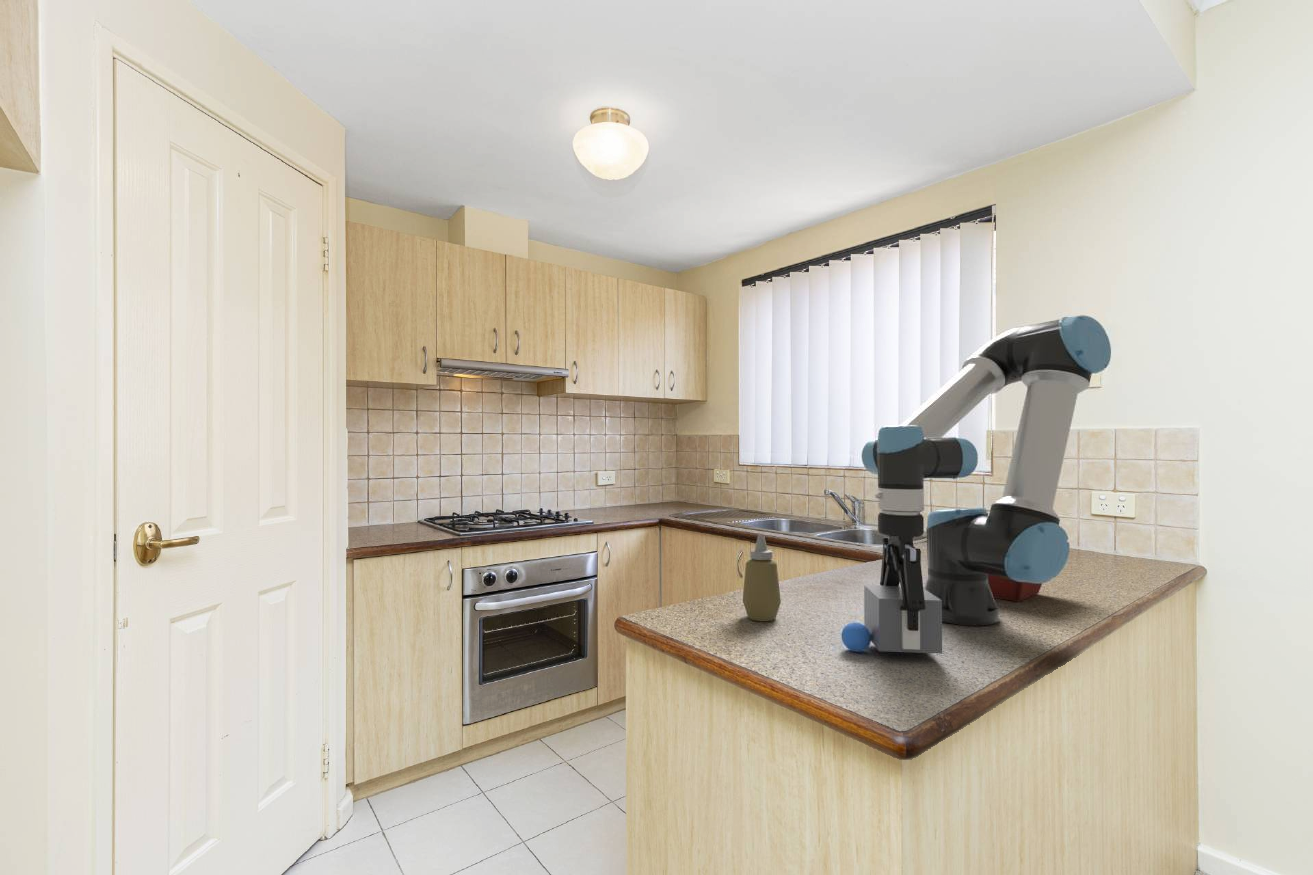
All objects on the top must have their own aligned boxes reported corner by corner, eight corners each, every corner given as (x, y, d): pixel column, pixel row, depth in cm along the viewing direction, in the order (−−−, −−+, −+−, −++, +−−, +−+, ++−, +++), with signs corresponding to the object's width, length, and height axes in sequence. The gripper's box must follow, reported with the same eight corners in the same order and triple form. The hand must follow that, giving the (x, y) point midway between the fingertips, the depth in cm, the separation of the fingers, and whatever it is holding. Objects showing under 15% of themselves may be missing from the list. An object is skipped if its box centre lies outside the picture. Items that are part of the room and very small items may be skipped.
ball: (872, 626, 108) (846, 613, 108) (879, 636, 103) (853, 622, 103) (859, 650, 108) (834, 637, 108) (865, 661, 103) (839, 647, 103)
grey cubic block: (921, 634, 109) (921, 586, 109) (942, 653, 99) (941, 600, 99) (864, 632, 110) (864, 585, 110) (879, 651, 100) (878, 598, 100)
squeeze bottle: (781, 624, 121) (780, 536, 122) (741, 622, 123) (740, 535, 123) (780, 614, 129) (780, 531, 130) (743, 612, 131) (743, 530, 131)
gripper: (863, 506, 117) (863, 619, 116) (897, 519, 94) (898, 659, 94) (902, 506, 116) (903, 620, 115) (947, 520, 93) (948, 661, 93)
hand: (900, 638), depth 104 cm, fingers closed on grey cubic block, 10 cm apart
